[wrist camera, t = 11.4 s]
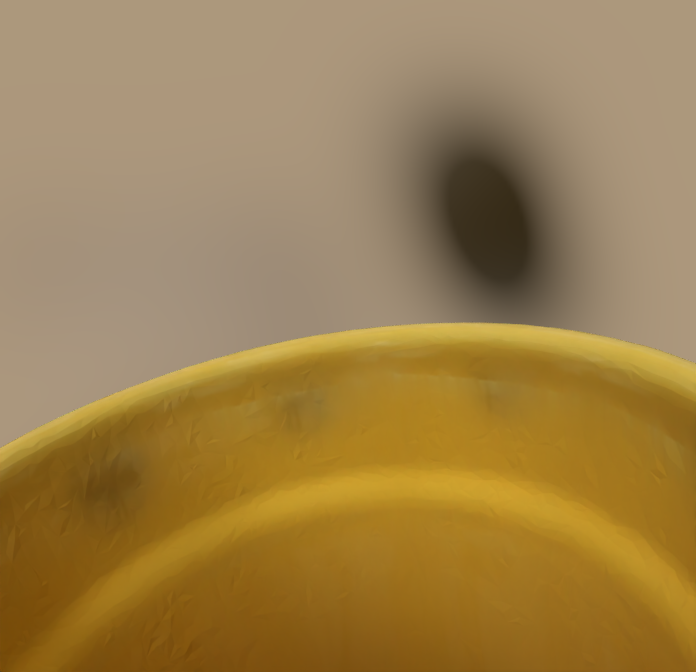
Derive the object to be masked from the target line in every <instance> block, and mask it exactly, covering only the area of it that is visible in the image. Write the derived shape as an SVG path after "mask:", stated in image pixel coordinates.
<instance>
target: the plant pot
mask: <svg viewBox="0 0 696 672" xmlns="http://www.w3.org/2000/svg"><path fill="white" fill-rule="evenodd" d="M0 672H696V363H693V362H691V361H688V360H685V359H683V358H680V357H677V356H674V355H672V354H669V353H666V352H663V351H660V350H657V349H654V348H651V347H647V346H644V345H640V344H635V343H631V342H627V341H623V340H619V339H614V338H610V337H605V336H600V335H595V334H590V333H585V332H579V331H572V330H566V329H559V328H549V327H540V326H531V325H520V324H500V323H428V324H409V325H397V326H383V327H374V328H366V329H356V330H348V331H341V332H335V333H328V334H322V335H316V336H309V337H304V338H300V339H294V340H289V341H285V342H280V343H275V344H270V345H265V346H262V347H257V348H253V349H249V350H245V351H241V352H237V353H234V354H231V355H227V356H223V357H220V358H216V359H213V360H209V361H206V362H203V363H199V364H196V365H193V366H189V367H186V368H183V369H180V370H177V371H175V372H171V373H169V374H166V375H163V376H160V377H157V378H154V379H152V380H149V381H146V382H143V383H141V384H138V385H135V386H132V387H130V388H127V389H125V390H122V391H119V392H117V393H114V394H112V395H109V396H107V397H104V398H102V399H99V400H97V401H94V402H92V403H90V404H88V405H85V406H83V407H81V408H79V409H77V410H74V411H72V412H70V413H68V414H65V415H63V416H61V417H59V418H57V419H55V420H53V421H50V422H48V423H46V424H44V425H42V426H40V427H38V428H36V429H34V430H32V431H30V432H28V433H26V434H25V435H23V436H21V437H19V438H17V439H15V440H14V441H12V442H10V443H8V444H7V445H5V446H3V447H1V448H0Z"/></svg>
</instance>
